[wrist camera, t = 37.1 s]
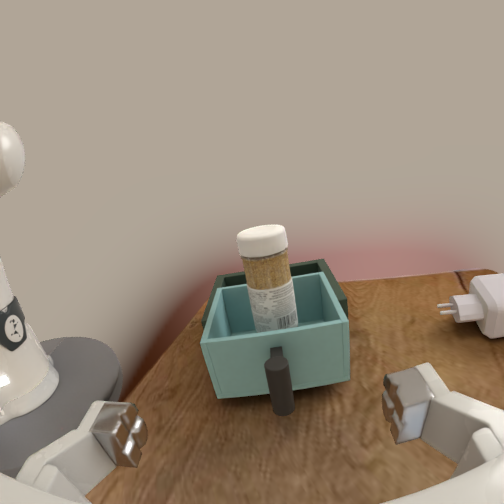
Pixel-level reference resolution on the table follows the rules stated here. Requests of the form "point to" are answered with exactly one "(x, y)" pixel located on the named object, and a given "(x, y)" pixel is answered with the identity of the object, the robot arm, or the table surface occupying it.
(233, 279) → the dark green bin
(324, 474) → the table surface
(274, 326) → the sprinkles bottle
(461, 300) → the charger
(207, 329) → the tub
